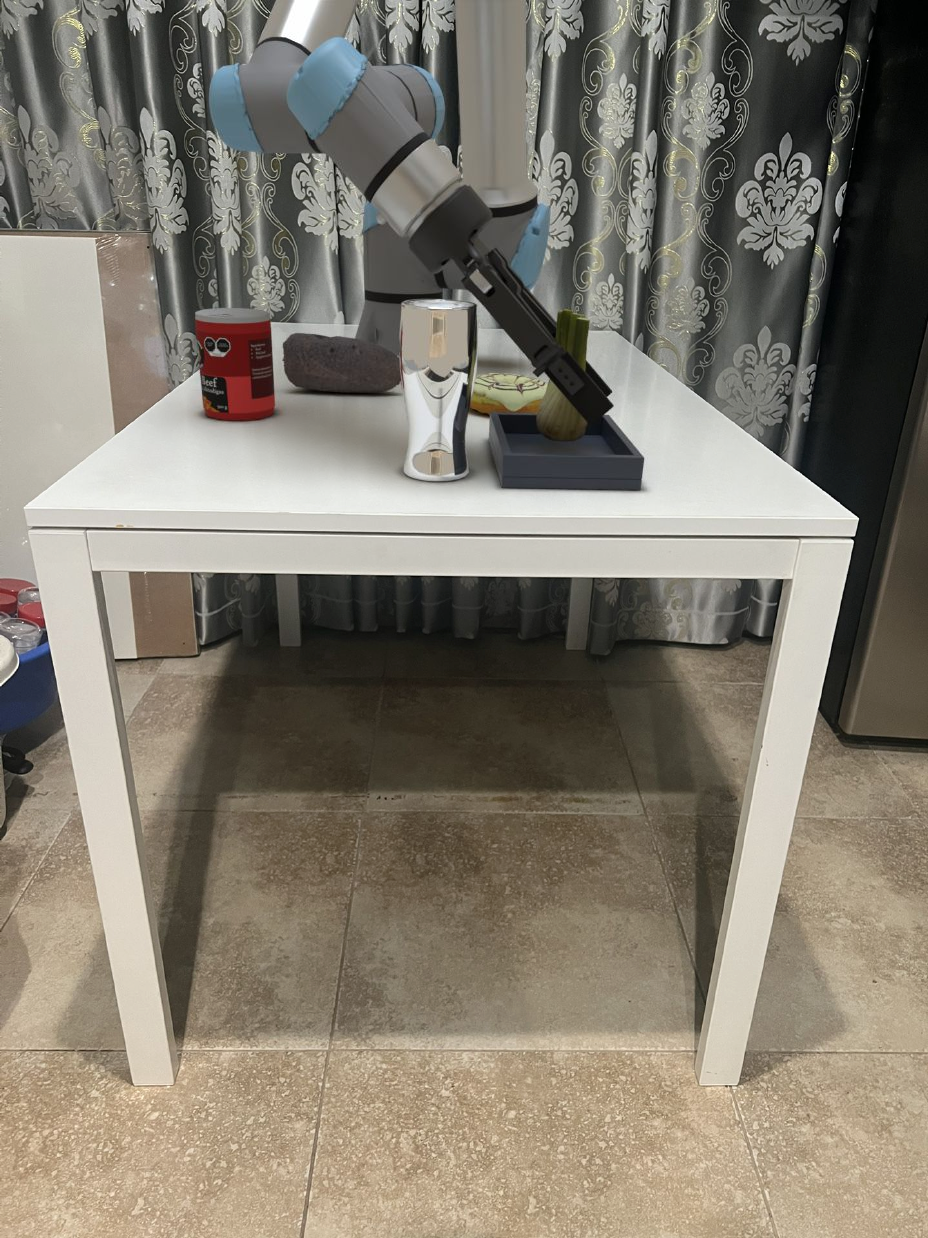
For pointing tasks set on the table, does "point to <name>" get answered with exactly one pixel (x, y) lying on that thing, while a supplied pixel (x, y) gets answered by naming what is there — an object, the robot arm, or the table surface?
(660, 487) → the table surface
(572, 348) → the fennel bulb
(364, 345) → the perforated stone tool
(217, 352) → the canned food
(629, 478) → the dark grey tray
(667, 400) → the table surface
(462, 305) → the beer glass
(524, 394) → the decorated donut
